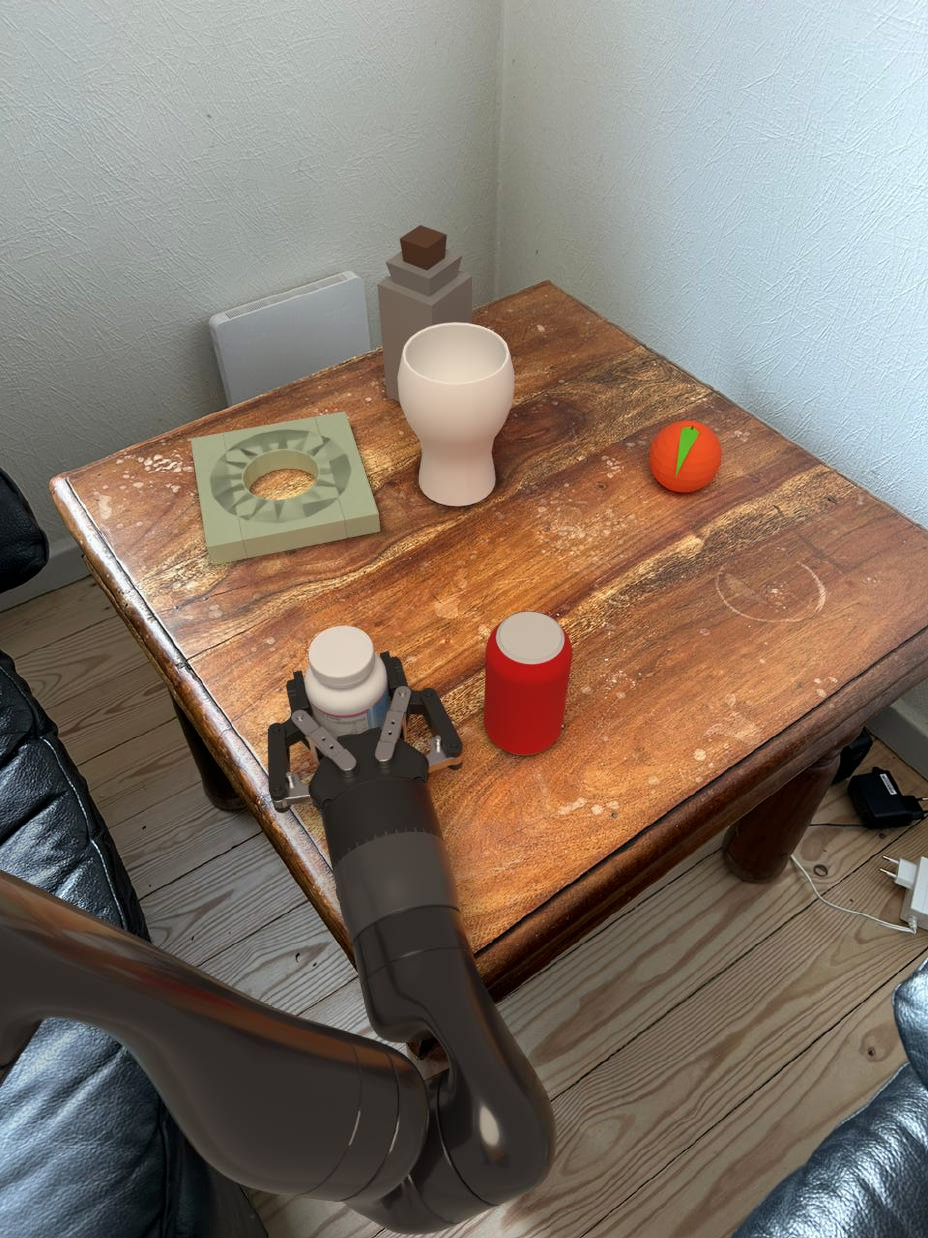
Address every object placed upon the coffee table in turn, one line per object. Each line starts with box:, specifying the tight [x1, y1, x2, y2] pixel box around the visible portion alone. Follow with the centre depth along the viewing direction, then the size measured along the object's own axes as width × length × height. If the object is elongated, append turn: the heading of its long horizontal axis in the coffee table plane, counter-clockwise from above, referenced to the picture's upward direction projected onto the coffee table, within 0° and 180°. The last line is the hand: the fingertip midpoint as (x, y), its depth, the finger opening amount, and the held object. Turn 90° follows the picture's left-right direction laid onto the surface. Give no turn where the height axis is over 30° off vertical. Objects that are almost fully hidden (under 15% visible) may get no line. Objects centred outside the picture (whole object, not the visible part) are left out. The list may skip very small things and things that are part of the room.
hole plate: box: [190, 410, 381, 566], centre depth 91 cm, size 16×16×2 cm
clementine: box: [648, 420, 723, 493], centre depth 89 cm, size 8×7×7 cm
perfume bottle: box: [376, 224, 473, 403], centre depth 95 cm, size 7×7×18 cm
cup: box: [397, 322, 516, 507], centre depth 87 cm, size 11×11×15 cm
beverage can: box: [483, 610, 573, 756], centre depth 69 cm, size 6×6×12 cm
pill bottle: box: [304, 625, 391, 740], centre depth 69 cm, size 6×6×11 cm
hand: (341, 668), depth 70 cm, fingers closed on pill bottle, 6 cm apart
